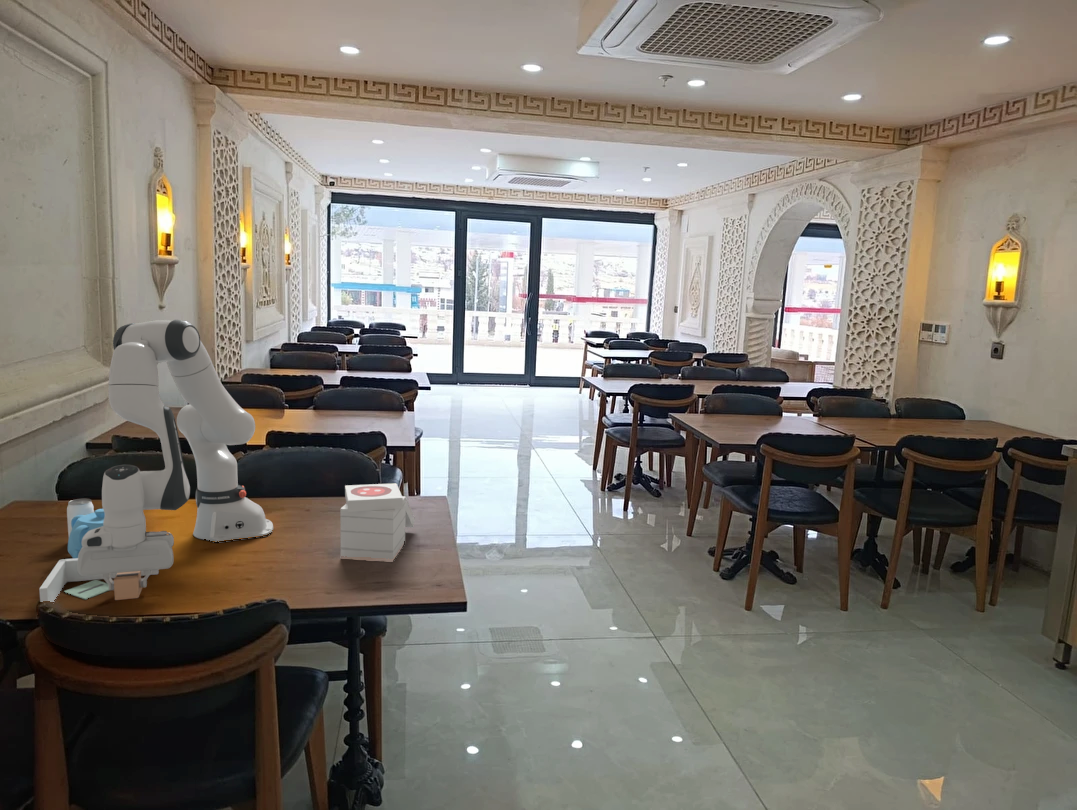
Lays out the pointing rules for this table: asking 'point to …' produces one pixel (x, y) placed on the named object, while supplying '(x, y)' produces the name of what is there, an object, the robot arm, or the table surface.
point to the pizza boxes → (374, 520)
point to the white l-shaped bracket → (69, 573)
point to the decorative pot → (83, 529)
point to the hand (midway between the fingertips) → (128, 587)
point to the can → (78, 510)
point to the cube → (127, 585)
